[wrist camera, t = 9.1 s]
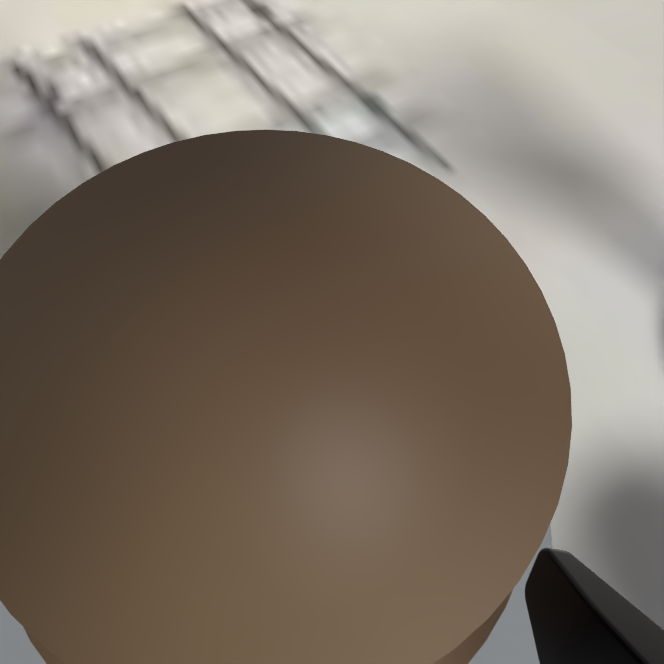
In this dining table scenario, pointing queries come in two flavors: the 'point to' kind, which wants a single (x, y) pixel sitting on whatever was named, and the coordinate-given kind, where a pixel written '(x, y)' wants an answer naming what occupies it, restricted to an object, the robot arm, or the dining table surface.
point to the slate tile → (491, 660)
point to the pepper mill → (272, 411)
